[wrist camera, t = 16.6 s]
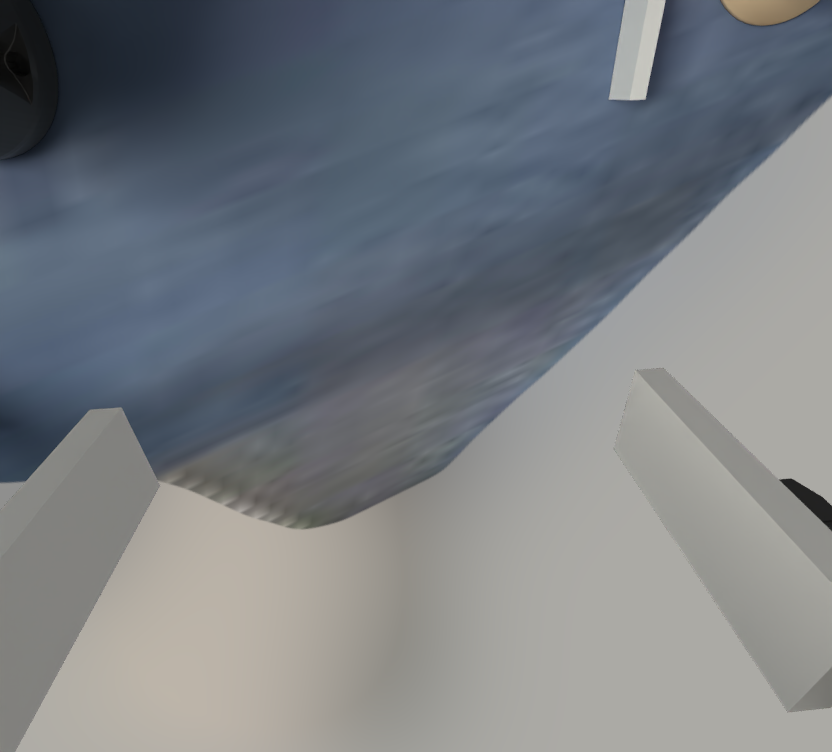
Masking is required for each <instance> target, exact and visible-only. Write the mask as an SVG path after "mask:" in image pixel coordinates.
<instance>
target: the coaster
mask: <svg viewBox="0 0 832 752" xmlns="http://www.w3.org/2000/svg"><path fill="white" fill-rule="evenodd" d="M720 1H721V2H722V4H723V6H724V7H725V9H726V10H727V11H728V12H729V13H730V14H731V15H732V16H733V17H735V18H736V19H737V20H739V21H741V22H744V23H746V24H750V25H757V26H765V25H773V24H777V23H781V22H785V21H787V20H790V19H792V18H794V17H796V16H798V15H800V14H802V13H804V12H805V11H807V10H808V9H810V8H811V7H812V6H814V5H815V4H816V3H818V2H819V1H820V0H720Z"/></svg>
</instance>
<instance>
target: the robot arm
mask: <svg viewBox="0 0 832 752" xmlns="http://www.w3.org/2000/svg"><path fill="white" fill-rule="evenodd" d="M57 101H58V77H57V69H56V64H55V59H54V55H53V52H52V48H51V45H50V42H49V39H48V36H47V34H46V31H45V29H44V27H43V24H42V22H41V20H40V18H39V16H38V14H37V12H36V10H35V9H34V7H33V5H32V3H31V1H30V0H0V160H2V159H7V158H11V157H15V156H18V155H20V154H23V153H24V152H26V151H28V150H30V149H31V148H33V147H34V146H35V145H36V144H38V143H39V141H40V140H41V139H42V138H43V137H44V136H45V134H46V133H47V131H48V130H49V128H50V126H51V124H52V121H53V119H54V116H55V112H56V108H57ZM614 450H615V452H616V453H617V455H618V456H619V458H620V459H621V461H622V462H623V464H624V465H625V467H626V468H627V470H628V471H629V473H630V475H631V476H632V478H633V479H634V481H635V482H636V484H637V485H638V487H639V488H640V490H641V491H642V493H643V494H644V496H645V497H646V499H647V500H648V502H649V503H650V505H651V506H652V508H653V509H654V511H655V512H656V514H657V515H658V517H659V518H660V520H661V521H662V523H663V524H664V526H665V527H666V529H667V530H668V532H669V534H670V535H671V536H672V538H673V540H674V541H675V543H676V544H677V546H678V547H679V549H680V550H681V552H682V553H683V555H684V556H685V558H686V559H687V561H688V562H689V564H690V565H691V567H692V568H693V570H694V571H695V573H696V574H697V576H698V577H699V579H700V581H701V582H702V584H703V585H704V587H705V588H706V590H707V591H708V593H709V594H710V596H711V597H712V599H713V600H714V602H715V603H716V605H717V606H718V608H719V609H720V611H721V612H722V614H723V615H724V617H725V618H726V620H727V621H728V623H729V624H730V626H731V627H732V629H733V630H734V632H735V633H736V635H737V636H738V638H739V640H740V641H741V643H742V644H743V645H744V647H745V649H746V650H747V652H748V653H749V655H750V656H751V658H752V659H753V661H754V662H755V664H756V665H757V667H758V668H759V670H760V671H761V673H762V674H763V676H764V677H765V679H766V680H767V682H768V684H769V685H770V686H771V688H772V690H773V691H774V693H775V694H776V696H777V697H778V699H779V700H780V702H781V703H782V705H783V706H784V708H785V709H786V711H787V712H795V711H804V710H814V709H824V708H831V707H832V506H831V505H830V504H829V503H828V502H827V501H826V500H825V499H824V498H823V497H821V496H820V495H818V494H816V493H815V492H813V491H811V490H810V489H808V488H806V487H805V486H803V485H801V484H800V483H798V482H796V481H795V480H793V479H782V480H778V478H776V477H775V476H774V475H773V474H772V473H771V472H770V471H769V470H768V469H767V468H766V467H765V466H764V465H763V464H762V463H761V462H760V461H759V460H758V459H757V458H756V457H755V456H754V455H753V454H752V453H751V452H750V451H749V450H748V449H747V448H745V446H743V445H742V444H741V443H740V442H739V441H738V440H737V439H736V438H735V437H734V436H733V435H732V434H731V433H730V432H729V431H728V430H727V429H726V428H725V427H724V426H723V425H722V424H721V423H720V422H719V421H718V420H717V419H716V418H715V417H714V416H712V415H711V414H710V413H709V412H708V411H707V410H706V409H705V408H704V407H703V406H702V405H701V404H700V403H699V402H698V401H697V400H696V399H695V398H694V397H693V396H692V395H691V394H690V393H689V392H688V391H687V390H686V389H685V388H684V387H683V386H682V385H681V384H680V383H678V382H677V381H676V380H675V379H674V378H673V377H672V376H671V375H670V374H669V373H668V372H667V371H666V370H665V369H664V368H656V369H643V370H635V372H634V376H633V380H632V384H631V387H630V391H629V394H628V398H627V402H626V406H625V409H624V413H623V416H622V420H621V424H620V427H619V431H618V435H617V438H616V442H615V446H614ZM159 486H160V485H159V483H158V481H157V479H156V477H155V475H154V473H153V471H152V469H151V467H150V465H149V462H148V460H147V458H146V456H145V454H144V452H143V450H142V448H141V446H140V444H139V442H138V440H137V438H136V436H135V434H134V432H133V430H132V428H131V426H130V424H129V422H128V420H127V418H126V416H125V414H124V412H123V410H122V408H109V409H95V410H89V411H88V412H87V413H86V415H85V416H84V417H83V418H82V419H81V420H80V421H79V422H78V424H77V425H76V426H75V427H74V428H73V429H72V430H71V431H70V433H69V434H68V435H67V436H66V437H65V438H64V439H63V440H62V441H61V443H60V444H59V445H58V446H57V447H56V448H55V449H54V450H53V452H52V453H51V454H50V455H49V456H48V457H47V458H46V459H45V461H44V462H43V463H42V464H41V465H40V466H39V467H38V468H37V470H36V471H35V472H34V473H33V474H32V475H31V476H30V477H29V479H28V480H27V481H26V482H25V483H24V484H23V485H22V486H21V488H20V489H19V490H18V491H17V492H16V493H15V494H14V495H13V496H12V498H11V499H10V500H9V501H8V502H7V503H6V504H5V505H4V507H3V508H2V509H1V510H0V752H15V751H16V749H17V747H18V745H19V744H20V742H21V740H22V738H23V736H24V734H25V732H26V731H27V729H28V727H29V725H30V723H31V722H32V719H33V718H34V716H35V714H36V712H37V711H38V709H39V707H40V705H41V703H42V701H43V699H44V698H45V696H46V694H47V692H48V690H49V688H50V687H51V685H52V683H53V681H54V679H55V677H56V676H57V674H58V672H59V670H60V668H61V666H62V665H63V663H64V661H65V659H66V657H67V655H68V654H69V651H70V650H71V648H72V646H73V644H74V642H75V641H76V639H77V637H78V635H79V633H80V632H81V630H82V628H83V626H84V624H85V622H86V621H87V619H88V617H89V615H90V613H91V611H92V609H93V608H94V606H95V604H96V602H97V600H98V598H99V596H100V595H101V593H102V591H103V589H104V587H105V586H106V584H107V582H108V580H109V578H110V576H111V574H112V573H113V571H114V569H115V567H116V565H117V564H118V562H119V560H120V558H121V556H122V554H123V553H124V551H125V549H126V547H127V545H128V543H129V542H130V540H131V538H132V536H133V534H134V532H135V530H136V529H137V527H138V525H139V523H140V521H141V519H142V517H143V516H144V514H145V512H146V510H147V508H148V507H149V505H150V503H151V501H152V499H153V497H154V496H155V494H156V492H157V490H158V488H159Z"/></svg>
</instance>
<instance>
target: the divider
mask: <svg viewBox="0 0 832 752" xmlns="http://www.w3.org/2000/svg"><path fill="white" fill-rule="evenodd" d="M665 1H666V0H625V6H624V11H623V17H622V23H621V29H620V35H619V41H618V47H617V53H616V59H615V65H614V71H613V77H612V83H611V89H610V95H609V100H645V99H646V94H647V89H648V84H649V79H650V74H651V69H652V64H653V60H654V55H655V50H656V45H657V40H658V35H659V30H660V26H661V21H662V16H663V11H664V6H665Z"/></svg>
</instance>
